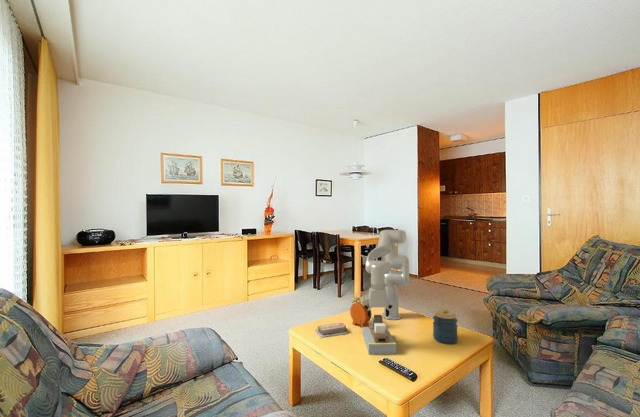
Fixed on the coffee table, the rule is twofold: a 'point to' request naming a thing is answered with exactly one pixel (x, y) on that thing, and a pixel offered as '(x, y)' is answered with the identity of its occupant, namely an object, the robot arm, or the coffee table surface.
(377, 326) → the block
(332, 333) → the packaged product
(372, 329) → the brown open frame
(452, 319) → the canister
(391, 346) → the dock
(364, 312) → the alarm clock
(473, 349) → the coffee table surface
